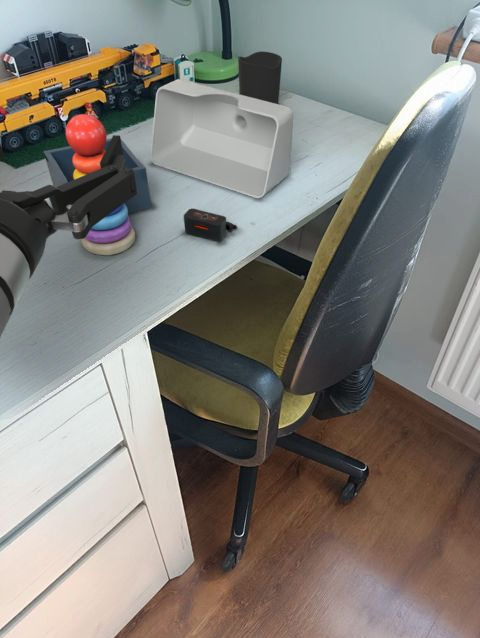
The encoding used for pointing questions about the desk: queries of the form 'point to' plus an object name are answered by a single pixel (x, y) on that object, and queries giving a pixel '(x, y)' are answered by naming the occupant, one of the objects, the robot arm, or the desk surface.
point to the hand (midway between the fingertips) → (57, 145)
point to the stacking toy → (88, 145)
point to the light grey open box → (222, 137)
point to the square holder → (62, 157)
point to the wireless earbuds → (207, 225)
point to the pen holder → (260, 76)
